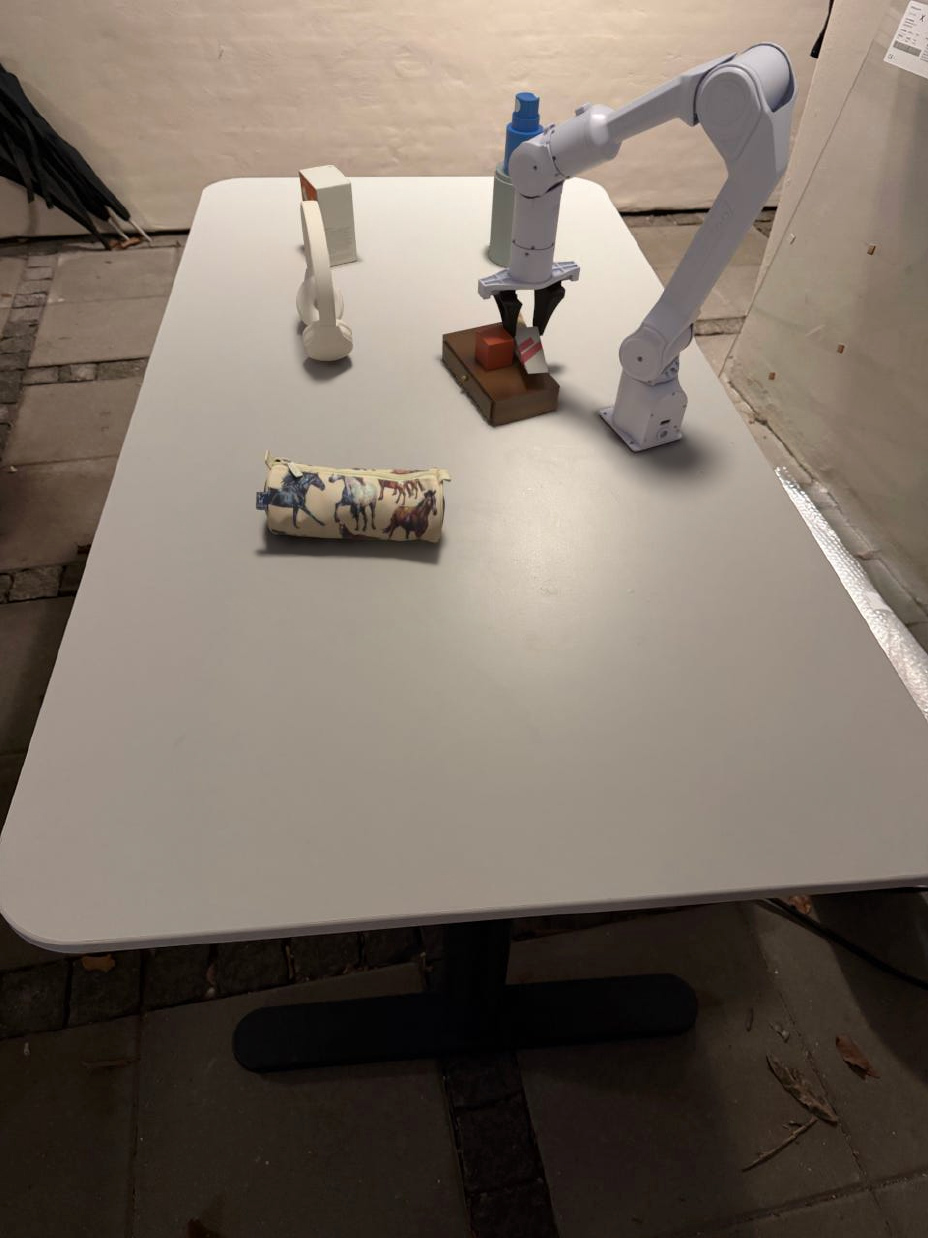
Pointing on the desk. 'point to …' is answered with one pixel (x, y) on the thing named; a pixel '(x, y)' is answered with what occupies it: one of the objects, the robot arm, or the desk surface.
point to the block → (494, 347)
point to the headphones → (320, 294)
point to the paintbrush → (529, 347)
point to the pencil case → (352, 502)
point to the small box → (332, 209)
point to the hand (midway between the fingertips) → (523, 335)
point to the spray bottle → (503, 189)
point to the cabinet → (498, 381)
